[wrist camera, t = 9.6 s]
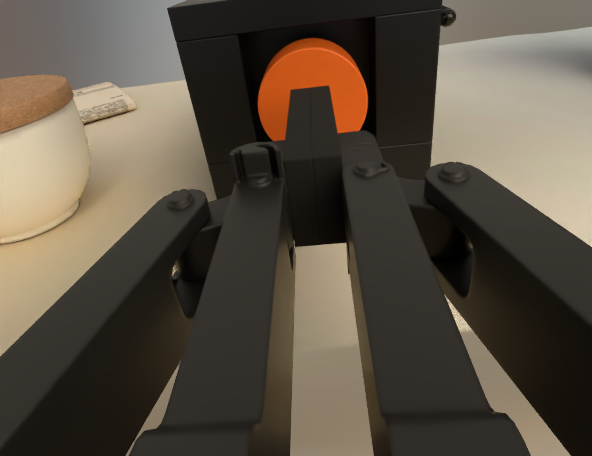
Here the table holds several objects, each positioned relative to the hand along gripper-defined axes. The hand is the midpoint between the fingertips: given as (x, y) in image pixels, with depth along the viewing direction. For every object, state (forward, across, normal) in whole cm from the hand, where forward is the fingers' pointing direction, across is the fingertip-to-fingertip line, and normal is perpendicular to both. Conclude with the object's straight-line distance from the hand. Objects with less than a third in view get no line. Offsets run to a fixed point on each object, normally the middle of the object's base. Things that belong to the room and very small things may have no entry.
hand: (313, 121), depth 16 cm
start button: (+4, 0, -3) cm, 5 cm away
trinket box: (+7, -19, -7) cm, 22 cm away
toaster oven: (+13, +1, -7) cm, 14 cm away
